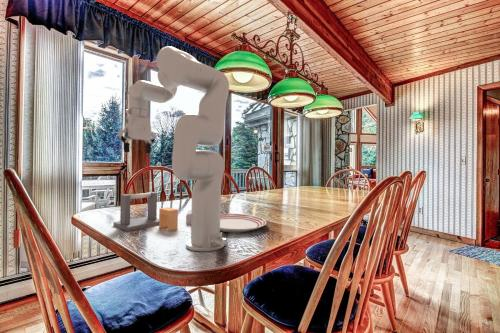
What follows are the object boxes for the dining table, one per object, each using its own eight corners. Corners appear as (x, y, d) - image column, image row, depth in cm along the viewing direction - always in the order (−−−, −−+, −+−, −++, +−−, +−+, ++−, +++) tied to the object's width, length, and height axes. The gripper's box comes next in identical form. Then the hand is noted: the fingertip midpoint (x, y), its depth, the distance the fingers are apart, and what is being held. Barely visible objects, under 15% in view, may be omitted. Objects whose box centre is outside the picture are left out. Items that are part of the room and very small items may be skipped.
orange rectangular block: (177, 229, 103) (177, 209, 103) (169, 231, 100) (169, 211, 100) (167, 226, 107) (167, 207, 107) (159, 227, 104) (159, 208, 104)
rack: (163, 223, 111) (164, 193, 110) (127, 231, 98) (127, 196, 98) (148, 219, 118) (149, 190, 118) (113, 225, 105) (113, 193, 105)
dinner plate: (267, 221, 121) (267, 214, 121) (265, 238, 94) (265, 229, 94) (211, 218, 124) (211, 211, 124) (193, 234, 97) (194, 225, 97)
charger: (207, 216, 127) (207, 224, 113) (188, 217, 126) (186, 224, 111) (207, 207, 127) (207, 213, 113) (188, 207, 126) (186, 214, 111)
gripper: (122, 109, 101) (121, 151, 102) (160, 116, 115) (160, 153, 115) (113, 111, 106) (113, 152, 106) (151, 117, 119) (151, 153, 120)
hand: (137, 152), depth 111 cm, fingers open, 9 cm apart
